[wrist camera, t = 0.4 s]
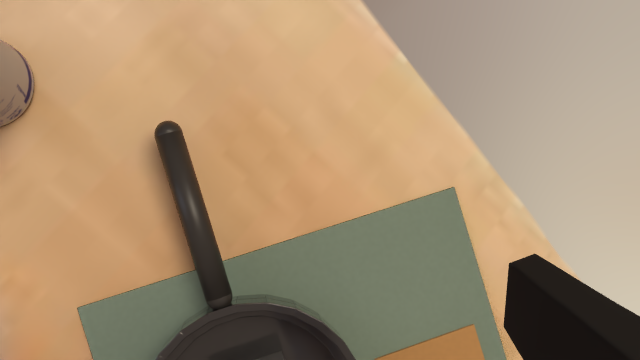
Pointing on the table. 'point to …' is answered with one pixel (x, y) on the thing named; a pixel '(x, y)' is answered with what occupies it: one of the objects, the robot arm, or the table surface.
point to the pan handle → (193, 215)
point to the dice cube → (273, 356)
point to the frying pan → (256, 333)
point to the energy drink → (14, 83)
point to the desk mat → (337, 289)
